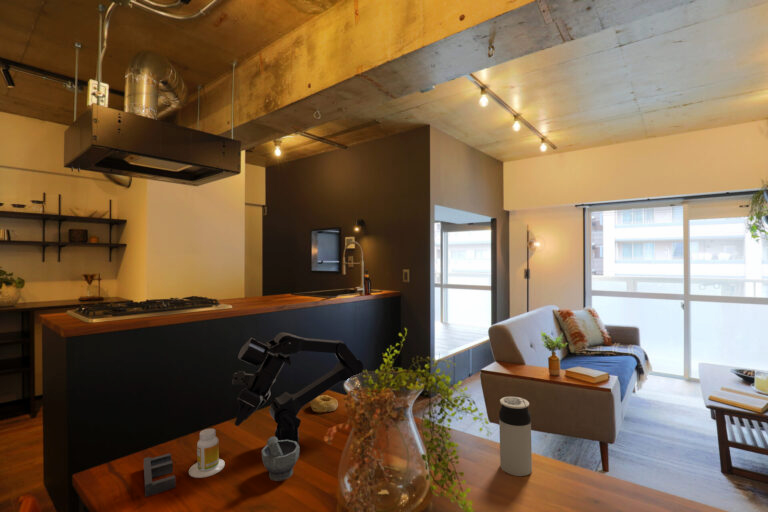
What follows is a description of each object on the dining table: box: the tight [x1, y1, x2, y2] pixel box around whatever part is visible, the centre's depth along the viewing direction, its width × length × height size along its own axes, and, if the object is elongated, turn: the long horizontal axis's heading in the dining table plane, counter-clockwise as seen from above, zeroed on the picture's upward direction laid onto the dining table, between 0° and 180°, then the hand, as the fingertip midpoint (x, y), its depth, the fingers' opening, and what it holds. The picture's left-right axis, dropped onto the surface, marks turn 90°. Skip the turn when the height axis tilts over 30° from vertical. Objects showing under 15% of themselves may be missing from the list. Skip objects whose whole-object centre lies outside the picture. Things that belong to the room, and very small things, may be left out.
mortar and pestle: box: [261, 435, 301, 482], centre depth 100 cm, size 11×9×12 cm
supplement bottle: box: [196, 428, 220, 471], centre depth 104 cm, size 5×5×10 cm
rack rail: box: [143, 452, 176, 498], centre depth 100 cm, size 6×15×3 cm, turn 33°
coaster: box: [188, 458, 226, 479], centre depth 104 cm, size 9×9×1 cm
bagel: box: [309, 394, 339, 414], centre depth 144 cm, size 10×11×5 cm
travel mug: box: [498, 396, 533, 477], centre depth 101 cm, size 8×8×18 cm
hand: (240, 422), depth 110 cm, fingers open, 9 cm apart
